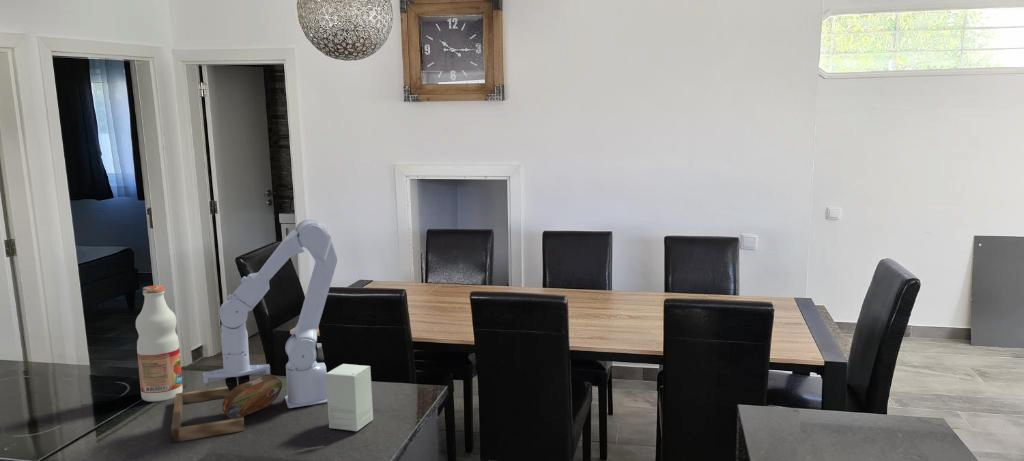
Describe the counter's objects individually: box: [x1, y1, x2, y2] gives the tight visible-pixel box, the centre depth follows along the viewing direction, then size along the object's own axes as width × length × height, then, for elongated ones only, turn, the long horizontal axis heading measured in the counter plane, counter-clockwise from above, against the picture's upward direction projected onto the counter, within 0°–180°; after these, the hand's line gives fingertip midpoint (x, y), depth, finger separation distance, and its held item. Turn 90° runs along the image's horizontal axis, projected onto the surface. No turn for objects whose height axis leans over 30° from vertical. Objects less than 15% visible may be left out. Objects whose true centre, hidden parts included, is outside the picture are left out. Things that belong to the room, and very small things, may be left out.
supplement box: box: [326, 363, 374, 432], centre depth 155 cm, size 7×7×13 cm
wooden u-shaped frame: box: [170, 384, 246, 444], centre depth 162 cm, size 14×25×2 cm, turn 23°
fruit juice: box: [135, 284, 184, 402], centre depth 174 cm, size 9×9×28 cm
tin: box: [221, 373, 283, 419], centre depth 162 cm, size 15×3×8 cm, turn 150°
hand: (239, 407), depth 165 cm, fingers closed
